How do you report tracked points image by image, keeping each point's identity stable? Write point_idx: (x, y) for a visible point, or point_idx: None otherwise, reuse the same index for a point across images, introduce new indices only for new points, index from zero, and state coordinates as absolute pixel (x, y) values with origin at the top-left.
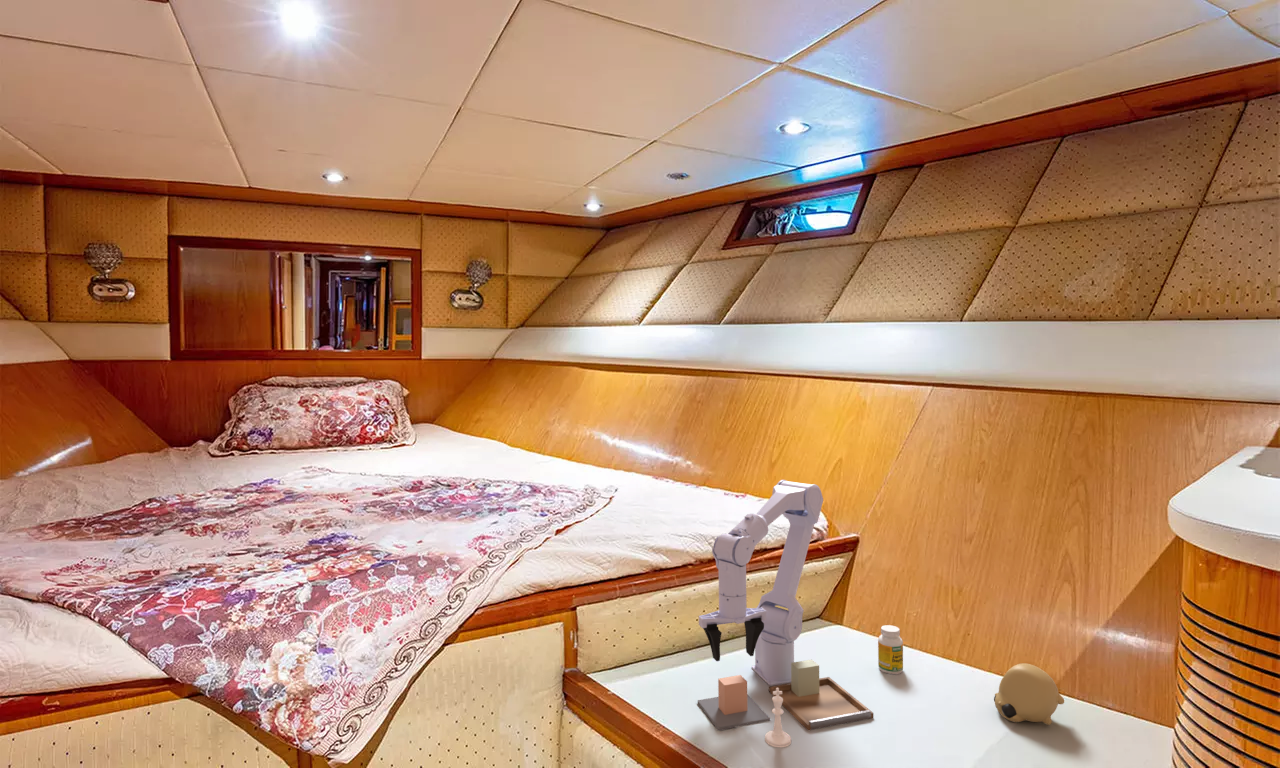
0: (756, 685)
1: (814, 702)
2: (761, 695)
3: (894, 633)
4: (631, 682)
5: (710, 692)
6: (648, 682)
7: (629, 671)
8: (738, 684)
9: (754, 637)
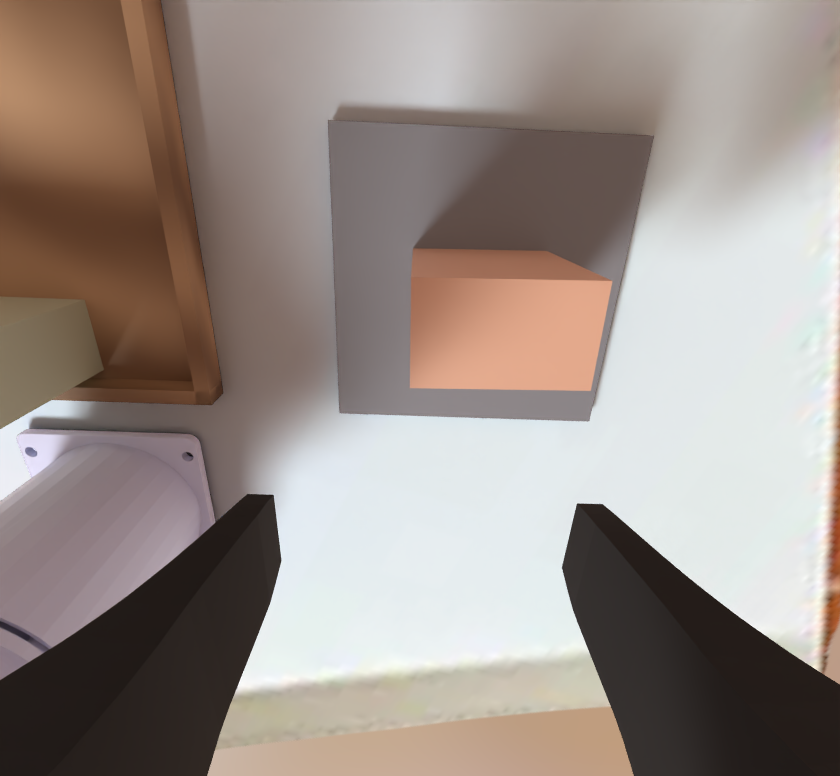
0: (258, 463)
1: (7, 213)
2: (270, 380)
3: None
4: None
5: (482, 474)
6: None
7: None
8: (487, 276)
9: (130, 647)
